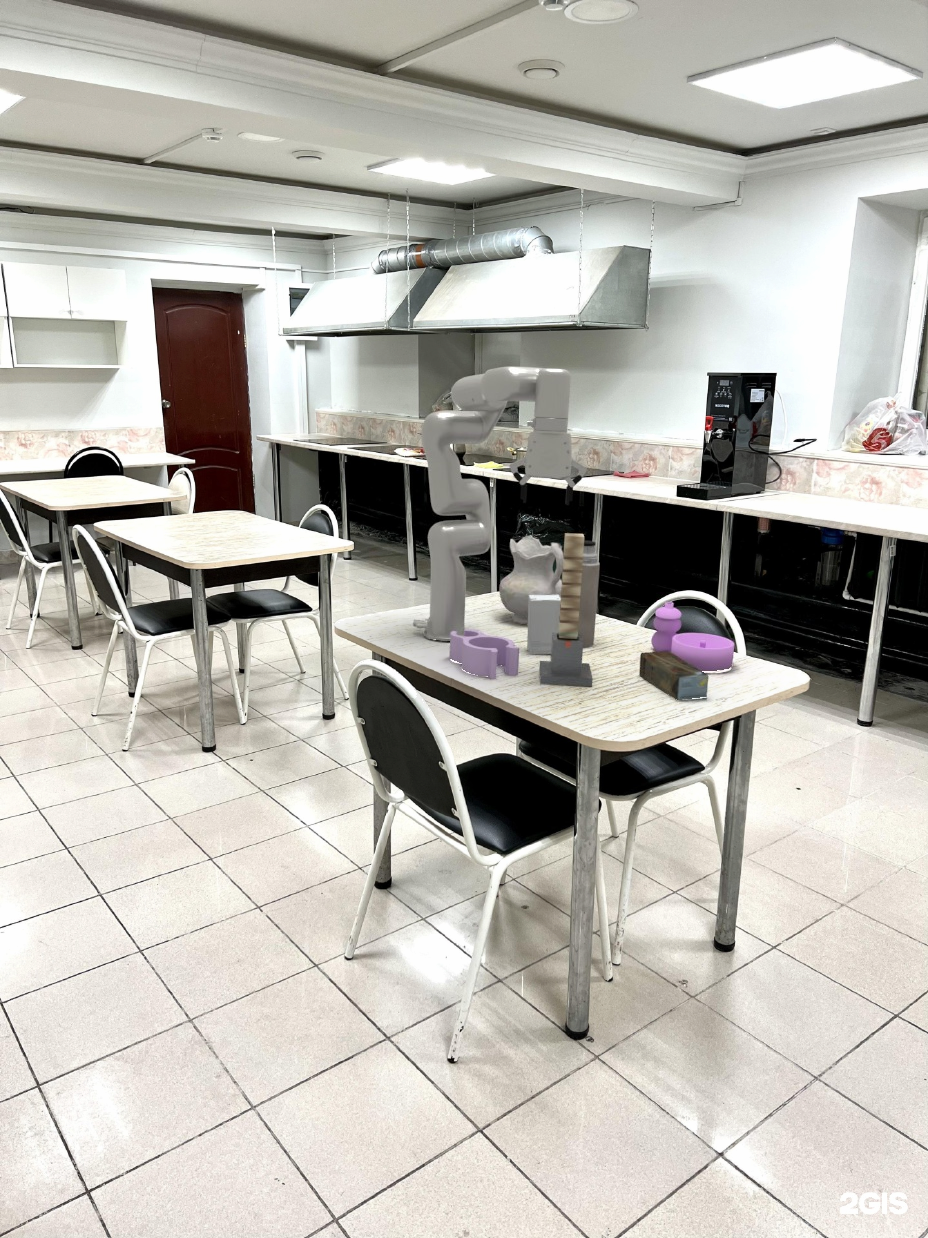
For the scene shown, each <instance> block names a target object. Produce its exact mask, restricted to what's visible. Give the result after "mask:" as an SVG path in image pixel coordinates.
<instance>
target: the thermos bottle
mask: <svg viewBox="0 0 928 1238" xmlns="http://www.w3.org/2000/svg"><path fill="white" fill-rule="evenodd" d="M595 546H596V542H595V541H592V540H584V549H583V563H582V578H581V583H582V584H581V592H580V595H581V598H580V606H579V608H580V611H579V624H578V634H582V637H583V648H589V647H594V645H595V644H594V642H595V634H596V633H595V632H596V631H595V630H596V618H597V617H596V616H597V606H598V605H597V604H598V590H599V579H600V562H598V559H599V556H598V554H597V552H595V551H596V547H595Z"/></svg>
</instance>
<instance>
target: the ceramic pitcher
mask: <svg viewBox="0 0 928 1238" xmlns="http://www.w3.org/2000/svg"><path fill="white" fill-rule="evenodd" d="M521 537H522V538H521V539H520V540H519V541H518V542H516V541H515V539H513V538H510V542H509V550H510V553H511V555H512V557H513V561H514V562H513V565H514V567H513V569H512V571H511V572H510V573H509V574H508V575H506V576H505V577H504V578H502V579H501V581H500V584H499V587H498V588H499V596H500V600H501V602H502V605H503V606H504V608H506V610H508V612H511V613H513V615H512V617H511V621H512V622H514V623H515V624H523V625H528V598H529V595H559V597H560V598H561V587H562V581H561V580H562V579H561V577H562V572H563V569H562V566H563V553H564V551H563V550H562V548H563V545H561V543H560V542H550V545H547V544H546V545H545V544H544V545H543V544H542V543H541V541H540V539H539V538H535V537H533V536H531V535H525V537H524V536H521ZM555 561H556V563H555ZM554 563H555V565H556V567H555V571H554V570H553V566H554Z"/></svg>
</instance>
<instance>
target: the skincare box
mask: <svg viewBox="0 0 928 1238" xmlns="http://www.w3.org/2000/svg"><path fill="white" fill-rule="evenodd" d="M560 603H561V598H560V597H559V595H529V598H528V624H527V638H526V639H527V643H526V645H527V646H526V647H527V651H528V654H529V655H551V646H552V632H555V633H558V627H559V616H560Z"/></svg>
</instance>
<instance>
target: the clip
mask: <svg viewBox="0 0 928 1238" xmlns="http://www.w3.org/2000/svg"><path fill="white" fill-rule="evenodd" d="M450 659H452V660H454V661H457V662H459V663H462V665H461V670H462V669H463V670H465V671H466V672H469V673H471V674H475V675H478V676H477V677H480V676H488V677H487V678H490V679H489V680H491V679H496V680H497V669H498V668H497V667H498V665H499V666H501V665H502V666H501V667H504V674H505V675H509V676H515V677H516V676H518V675H519V666H520V665H519V663H520V646H515V642H514V641H513V640H512V639H509V638H506V637H503V636H497V635H496V636H495V635H489V634H488V635H487V634H485V633H484V632H483V631H480V630H476V629H469V628H468V629H466V628H464V636H459V635H457V631H452V632H451V634H450V643H449V660H450ZM497 664H498V665H497ZM463 670H462V671H463ZM466 672H465V673H466ZM471 674H470V675H471Z"/></svg>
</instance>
